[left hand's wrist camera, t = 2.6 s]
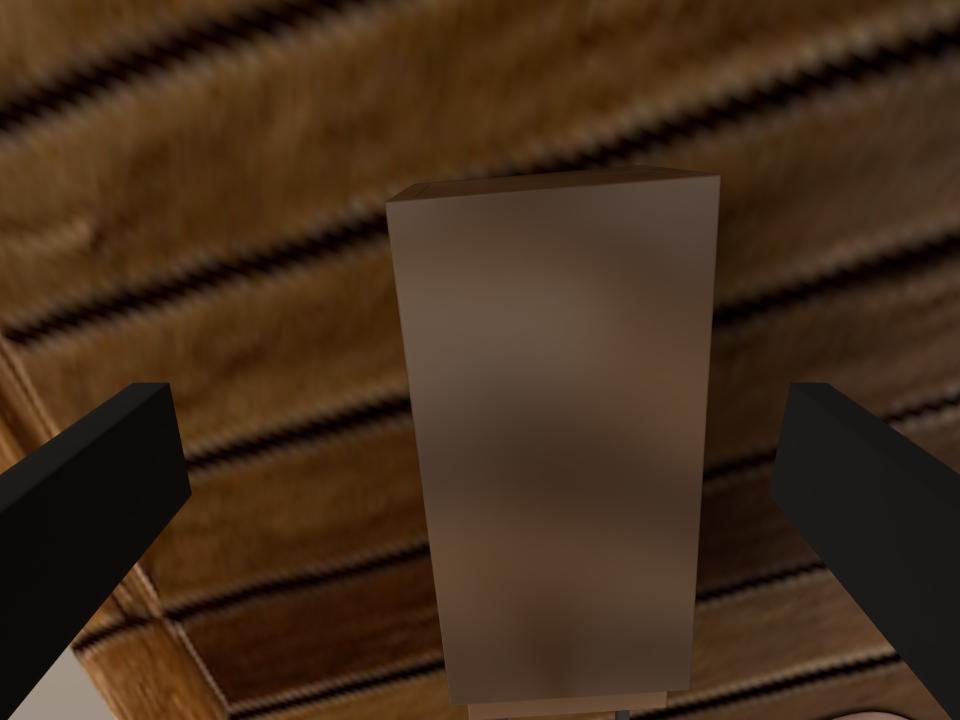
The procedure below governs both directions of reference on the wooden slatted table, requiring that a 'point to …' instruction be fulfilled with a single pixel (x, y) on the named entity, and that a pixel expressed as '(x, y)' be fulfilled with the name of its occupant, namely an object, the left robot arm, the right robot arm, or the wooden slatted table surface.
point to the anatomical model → (870, 716)
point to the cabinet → (560, 421)
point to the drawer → (569, 706)
